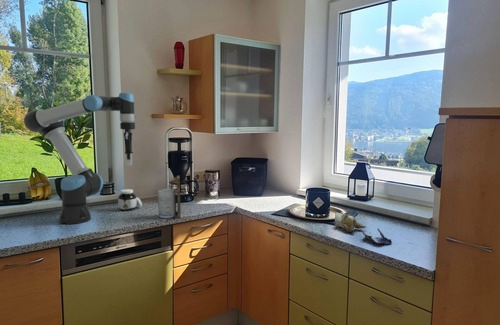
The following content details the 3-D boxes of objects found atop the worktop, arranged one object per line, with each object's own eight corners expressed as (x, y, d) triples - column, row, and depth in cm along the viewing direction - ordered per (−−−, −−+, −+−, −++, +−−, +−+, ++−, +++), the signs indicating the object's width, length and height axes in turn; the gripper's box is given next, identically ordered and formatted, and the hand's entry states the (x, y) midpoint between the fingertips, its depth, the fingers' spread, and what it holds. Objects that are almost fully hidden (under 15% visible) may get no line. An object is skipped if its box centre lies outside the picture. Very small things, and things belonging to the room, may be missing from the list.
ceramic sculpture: (342, 207, 190) (367, 215, 178) (341, 223, 191) (366, 232, 180) (329, 210, 184) (353, 219, 172) (327, 227, 185) (352, 236, 173)
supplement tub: (167, 213, 212) (166, 188, 210) (179, 215, 207) (179, 189, 205) (154, 217, 203) (154, 190, 202) (167, 219, 198) (166, 192, 197)
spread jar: (116, 210, 218) (115, 191, 216) (128, 206, 229) (127, 187, 227) (133, 212, 214) (133, 192, 213) (145, 207, 225) (144, 188, 224)
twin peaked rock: (384, 237, 171) (358, 236, 171) (386, 224, 169) (360, 223, 169) (393, 251, 159) (365, 250, 159) (396, 238, 157) (367, 237, 157)
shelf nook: (171, 219, 200) (170, 178, 197) (171, 214, 209) (170, 175, 207) (180, 218, 201) (179, 178, 198) (180, 213, 210) (179, 175, 208)
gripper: (133, 122, 194) (135, 166, 197) (136, 121, 207) (137, 163, 210) (118, 122, 193) (120, 167, 196) (121, 121, 205) (123, 163, 208)
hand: (129, 165), depth 203 cm, fingers closed
